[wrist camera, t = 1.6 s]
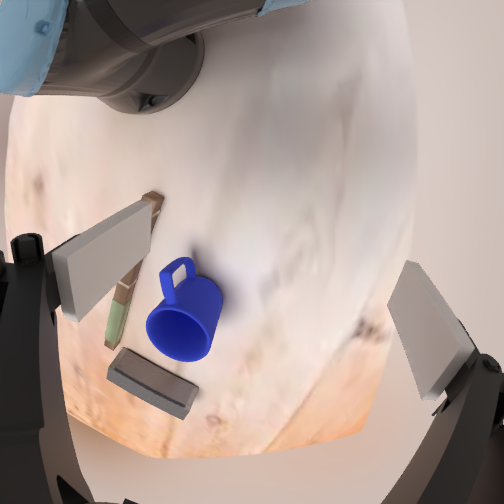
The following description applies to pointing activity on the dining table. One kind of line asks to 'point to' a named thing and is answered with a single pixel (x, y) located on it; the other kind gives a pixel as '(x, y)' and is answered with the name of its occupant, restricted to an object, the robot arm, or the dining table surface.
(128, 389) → the grooved grey block
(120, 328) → the brown and green stick
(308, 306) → the dining table surface
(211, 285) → the mug
